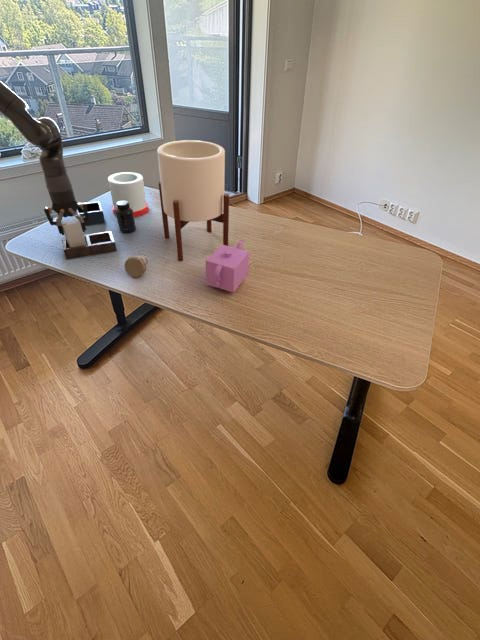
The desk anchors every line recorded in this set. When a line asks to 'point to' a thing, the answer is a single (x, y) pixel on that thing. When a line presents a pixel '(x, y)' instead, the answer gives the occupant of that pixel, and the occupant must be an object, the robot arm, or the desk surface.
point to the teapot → (227, 267)
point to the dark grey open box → (93, 214)
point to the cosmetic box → (73, 233)
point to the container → (128, 191)
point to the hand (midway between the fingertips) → (73, 232)
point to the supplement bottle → (125, 217)
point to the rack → (91, 245)
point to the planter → (192, 186)
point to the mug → (136, 265)
